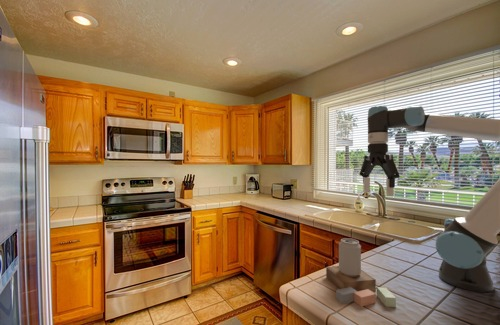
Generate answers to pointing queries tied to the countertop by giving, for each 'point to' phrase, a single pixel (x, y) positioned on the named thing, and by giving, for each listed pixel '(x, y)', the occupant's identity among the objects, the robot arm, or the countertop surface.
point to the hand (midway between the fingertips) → (377, 193)
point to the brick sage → (386, 297)
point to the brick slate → (345, 295)
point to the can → (350, 257)
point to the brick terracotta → (364, 297)
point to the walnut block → (350, 280)
